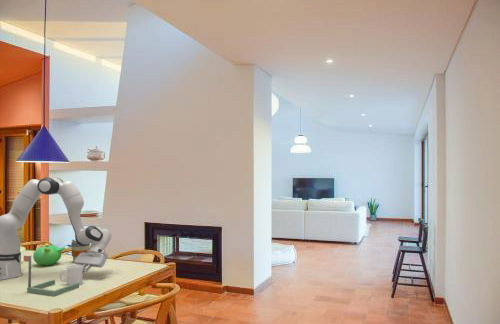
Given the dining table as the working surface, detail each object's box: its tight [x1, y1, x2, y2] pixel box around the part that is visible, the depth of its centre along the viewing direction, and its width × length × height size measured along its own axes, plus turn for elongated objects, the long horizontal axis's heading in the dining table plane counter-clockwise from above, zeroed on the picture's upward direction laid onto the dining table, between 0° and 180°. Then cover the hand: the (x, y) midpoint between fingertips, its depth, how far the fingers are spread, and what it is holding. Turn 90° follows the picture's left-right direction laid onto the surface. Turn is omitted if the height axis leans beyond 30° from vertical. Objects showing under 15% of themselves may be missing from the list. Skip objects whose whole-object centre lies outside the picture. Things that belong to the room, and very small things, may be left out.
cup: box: [59, 264, 83, 286], centre depth 235 cm, size 8×12×10 cm
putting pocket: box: [23, 255, 80, 297], centre depth 223 cm, size 18×23×20 cm
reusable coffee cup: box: [70, 240, 91, 264], centre depth 290 cm, size 12×13×15 cm
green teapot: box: [32, 242, 67, 266], centre depth 281 cm, size 18×17×15 cm
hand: (83, 271), depth 244 cm, fingers closed
